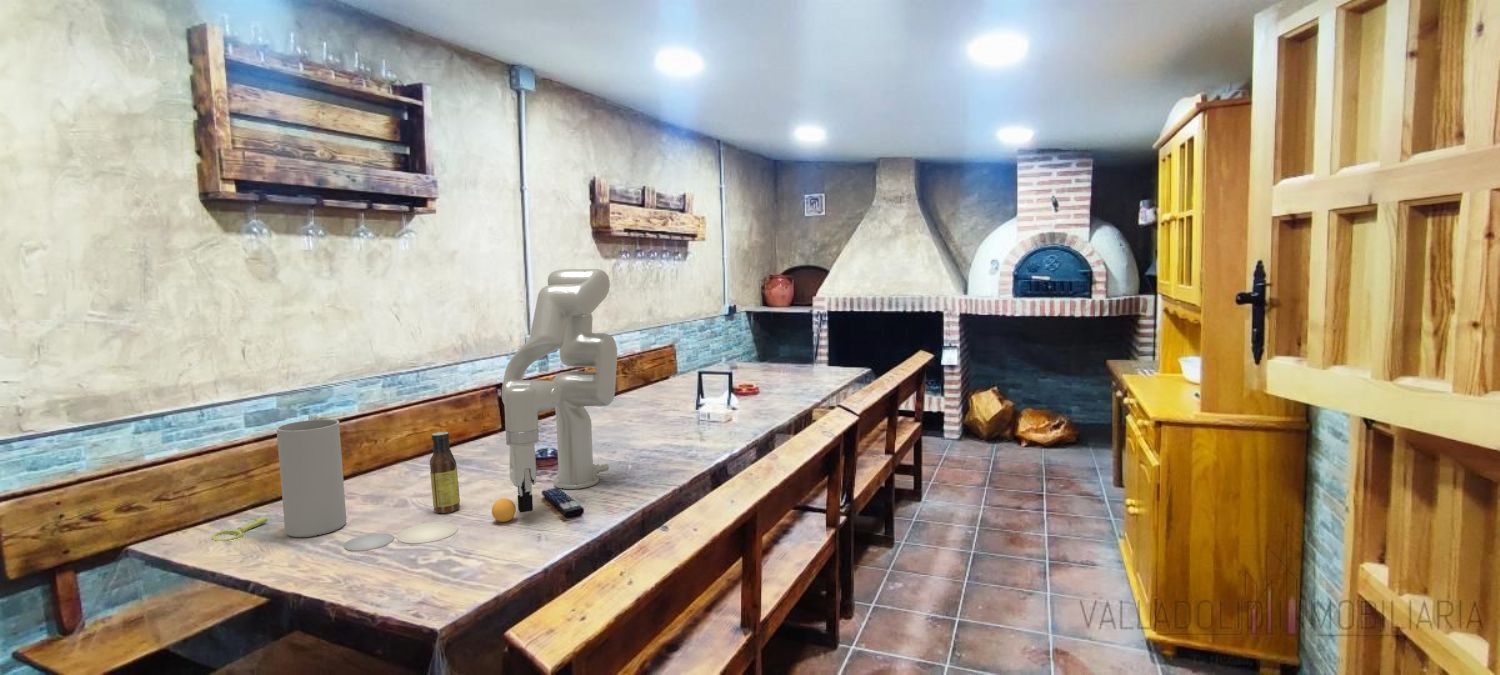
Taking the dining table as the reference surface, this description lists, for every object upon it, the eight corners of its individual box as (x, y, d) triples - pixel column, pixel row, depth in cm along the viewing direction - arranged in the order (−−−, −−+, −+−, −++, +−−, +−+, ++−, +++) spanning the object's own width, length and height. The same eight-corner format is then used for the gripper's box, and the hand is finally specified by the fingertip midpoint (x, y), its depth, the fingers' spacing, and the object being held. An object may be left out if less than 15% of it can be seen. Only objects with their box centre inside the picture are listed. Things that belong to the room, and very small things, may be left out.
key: (270, 524, 177) (269, 515, 177) (235, 544, 165) (234, 534, 165) (241, 525, 177) (240, 516, 177) (203, 544, 165) (202, 535, 165)
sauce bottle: (465, 508, 185) (461, 431, 183) (446, 515, 179) (441, 437, 177) (446, 504, 188) (442, 429, 186) (427, 512, 182) (422, 434, 180)
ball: (502, 492, 177) (487, 511, 176) (502, 495, 172) (486, 514, 171) (520, 505, 179) (505, 524, 177) (520, 509, 173) (505, 528, 172)
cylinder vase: (310, 541, 164) (302, 432, 161) (272, 534, 169) (263, 429, 166) (358, 522, 176) (351, 421, 173) (321, 517, 180) (314, 417, 178)
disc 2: (446, 519, 177) (446, 518, 177) (466, 532, 168) (466, 532, 168) (389, 532, 168) (388, 532, 168) (407, 548, 159) (407, 547, 159)
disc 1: (386, 530, 170) (386, 529, 170) (400, 542, 163) (400, 541, 163) (338, 542, 163) (338, 541, 163) (350, 554, 156) (350, 553, 156)
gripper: (501, 432, 180) (504, 504, 182) (511, 445, 167) (514, 522, 169) (532, 429, 184) (535, 500, 185) (544, 441, 170) (547, 517, 172)
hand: (525, 510), depth 177 cm, fingers closed
